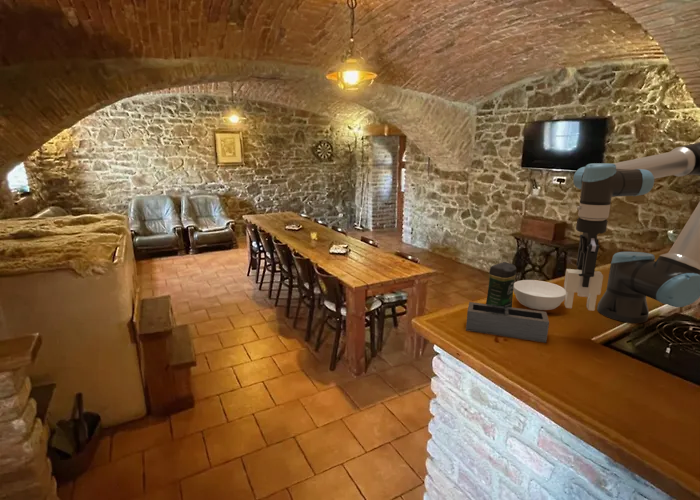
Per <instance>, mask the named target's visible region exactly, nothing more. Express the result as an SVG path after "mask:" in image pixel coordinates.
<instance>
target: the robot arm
mask: <svg viewBox="0 0 700 500" xmlns="http://www.w3.org/2000/svg"><path fill="white" fill-rule="evenodd" d="M669 176H674V177H685V176H700V142H696V143H691V144H686V145H682V146H678V147H677V146H676V147H675V148H673V149H672V150H670V151H669V152H664V153H658V154H652V155H648V156H643V157H640V158H635V159H634V158H633V159H628V160H624V161H618V162H615V163H603V162H601V163H600V162H599V163H597V162H596V163H595V162H594V163H588V164H586V165H585V166H582V167H580V168H578V169H577V170H576V171H575V172H574V175H573V176H572V177H573V178H572V181H573V186H575V188H576V189H578V190H580V195H579V196H580V198H579V205H577V206H576V210H578V212H577V216H578V217H577V220H576V225H575V226H576V227H575V229H576V231H577V232H580V233H582V234H580V235H579V244H578V250H577V251H578V252H577V258H576V265H575V266H576V270H582V274H579V276H580V281H579V288H578V293H577V296H578V297H583V298H588V295H589V289H590V282H591V277H594V272H595V271H596V266H597V261H598V260H597V258H598V253H599V250H600V247H601V246H600V245H599V242H600V241H599V240H600V239H599V238H598V234H605V233H606V232H607V228H608V223H609V222H608V220H607V219H608V218H609V217H610V210H611V205H612V204H611V203H612V198H614V197H616V198H617V197H637V196H643V195H646V194H648V193H650V191H652V189H653V187H654V186H655V185H654V184H655V179H660V178H664V177H665V178H666V177H669ZM655 257H656V256H655V255H654V254H653V253H649V252H643V251H619V252H615V253H614V254H613V255H612V259H611V262H610V267H609V273H608V278H607V283H606V284H607V287H606V291H605V292H604V294H602V297H601V298H600V300H599V301H598V303H597V312H598V313H599V314H600V315H602V316H603V317H604V316H605V317H607V318H610V319H612V320H614V321H620V322H624V323H633V324H640V323H645V322H648V320H649V315H650V314H649V307H648V302H647V297H648V298H649V299H652V300H654V301H657V302H659V303H661V304H663V305H667V306H670V307H674V308H684V307H687V306H689V305H692V304H693V303H695V302H696V301H697V300H699V298H700V201H699V202H698V204H697V206H695V209H694V210H693V211H692V213H691V215H690V216H689V218H688V220H687V222H686V223H685V225H684V226H683V228H682V230H681V231H680V232H679V234H678V235H677V238H676V239H675V241H674V243H673V245H672V246H671V247H670V250H669V251H668V252H666V253H663V254H659V256H658V258H657V259H656V258H655Z"/></svg>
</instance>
